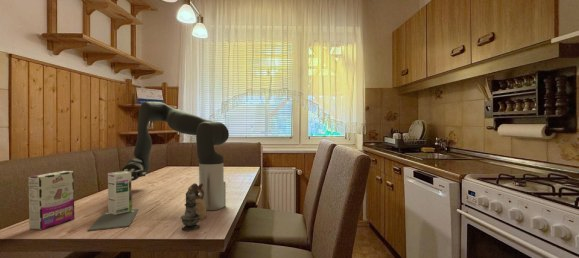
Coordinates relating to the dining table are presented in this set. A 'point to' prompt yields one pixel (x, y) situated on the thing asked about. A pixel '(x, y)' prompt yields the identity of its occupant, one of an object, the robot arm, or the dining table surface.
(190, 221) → the dark grey chess piece
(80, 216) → the dining table surface
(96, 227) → the mat
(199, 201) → the figurine
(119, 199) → the syrup box
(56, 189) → the candy bar box
